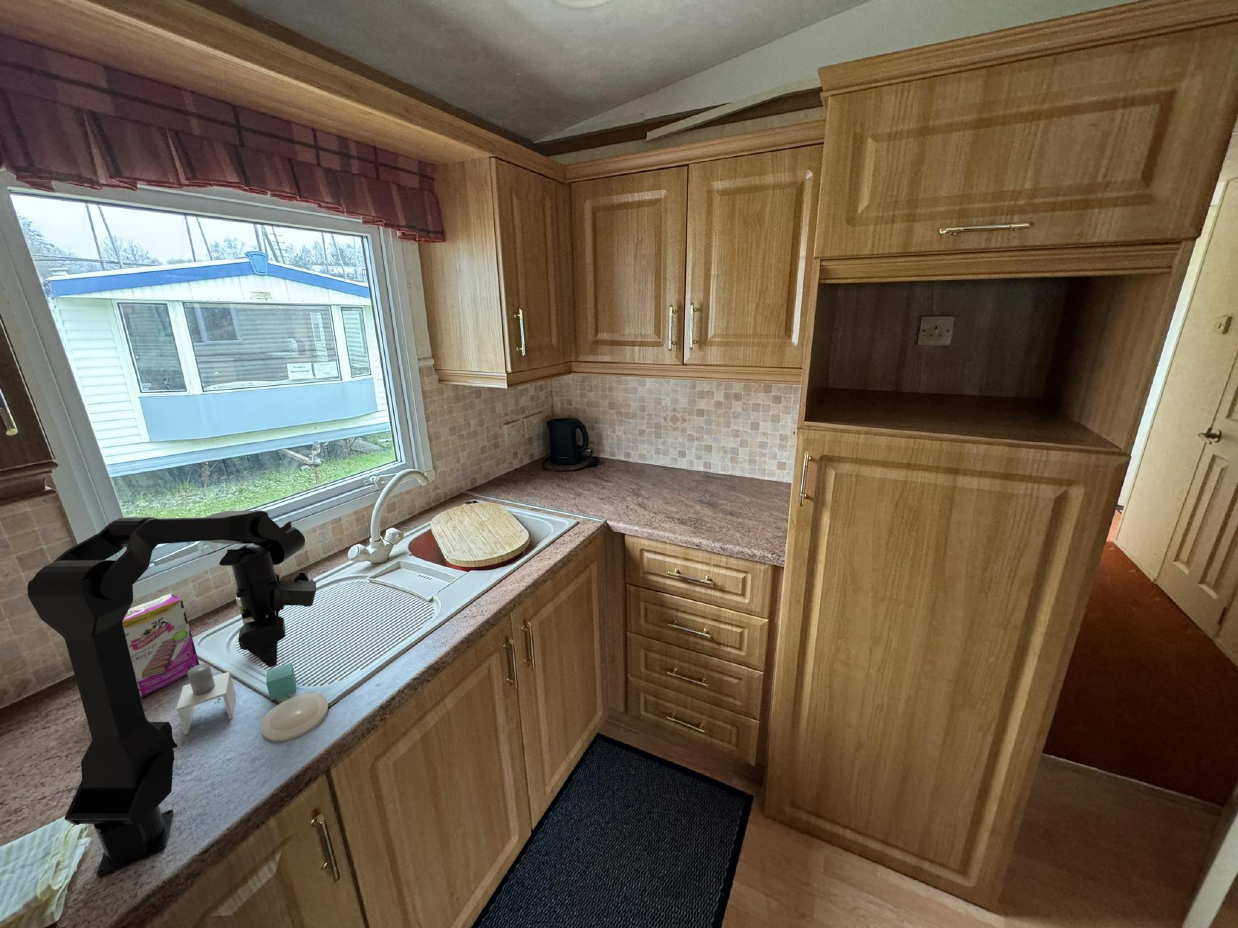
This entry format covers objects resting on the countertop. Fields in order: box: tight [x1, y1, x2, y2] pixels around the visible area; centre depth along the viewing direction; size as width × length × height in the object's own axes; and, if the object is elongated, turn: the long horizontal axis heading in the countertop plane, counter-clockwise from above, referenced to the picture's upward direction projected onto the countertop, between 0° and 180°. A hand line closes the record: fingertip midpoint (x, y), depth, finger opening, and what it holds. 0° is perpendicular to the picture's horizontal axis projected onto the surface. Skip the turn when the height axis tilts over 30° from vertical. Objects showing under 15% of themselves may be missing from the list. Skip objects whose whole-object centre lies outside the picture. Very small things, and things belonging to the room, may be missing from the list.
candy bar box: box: [123, 593, 201, 699], centre depth 93 cm, size 11×5×16 cm, turn 154°
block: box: [265, 662, 297, 701], centre depth 92 cm, size 4×4×4 cm
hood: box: [176, 663, 237, 735], centre depth 86 cm, size 7×7×10 cm
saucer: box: [260, 692, 329, 743], centre depth 86 cm, size 10×10×1 cm
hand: (274, 652), depth 90 cm, fingers open, 9 cm apart
